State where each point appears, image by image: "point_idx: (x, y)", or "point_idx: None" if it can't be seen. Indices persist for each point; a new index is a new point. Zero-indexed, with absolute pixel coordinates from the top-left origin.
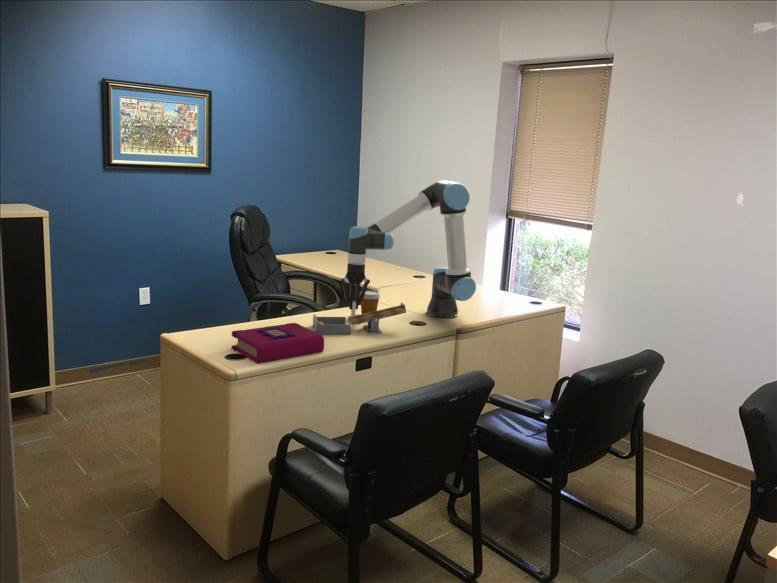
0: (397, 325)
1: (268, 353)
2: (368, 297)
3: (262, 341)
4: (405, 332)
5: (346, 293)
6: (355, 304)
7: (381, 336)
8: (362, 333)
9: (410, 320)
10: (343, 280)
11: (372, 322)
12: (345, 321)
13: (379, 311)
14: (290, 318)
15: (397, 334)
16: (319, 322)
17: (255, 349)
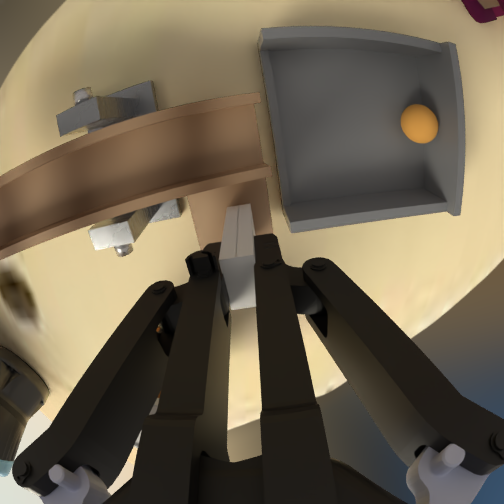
0: (51, 261)
1: None
2: (154, 405)
3: None
4: (12, 163)
5: (357, 308)
6: (225, 250)
7: (92, 55)
8: (184, 75)
9: (42, 325)
10: (488, 451)
11: (108, 98)
12: (286, 212)
13: (56, 224)
14: (464, 282)
15: (32, 119)
16: (435, 121)
17: None
